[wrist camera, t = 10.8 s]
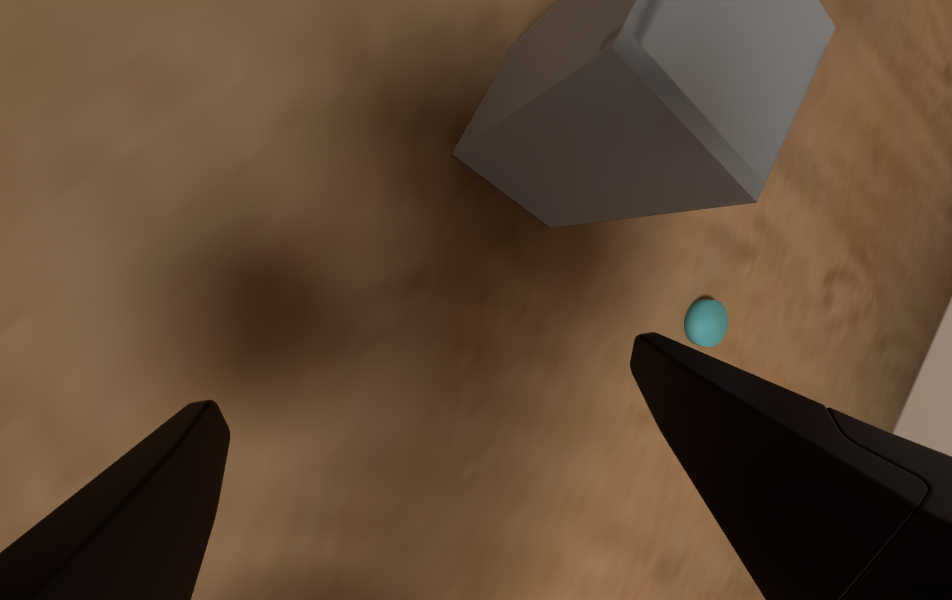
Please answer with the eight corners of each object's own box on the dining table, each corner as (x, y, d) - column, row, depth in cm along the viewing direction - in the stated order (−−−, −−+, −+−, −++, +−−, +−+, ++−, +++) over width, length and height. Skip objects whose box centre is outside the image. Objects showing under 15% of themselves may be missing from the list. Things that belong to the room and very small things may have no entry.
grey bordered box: (550, 228, 21) (756, 202, 11) (451, 153, 18) (611, 46, 9) (602, 127, 21) (835, 27, 12) (513, 42, 19) (720, -159, 10)
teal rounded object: (703, 350, 26) (717, 353, 25) (674, 334, 25) (689, 336, 24) (718, 309, 26) (733, 311, 25) (690, 291, 25) (705, 292, 24)
